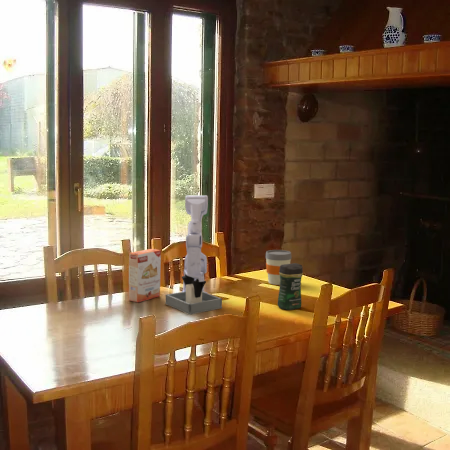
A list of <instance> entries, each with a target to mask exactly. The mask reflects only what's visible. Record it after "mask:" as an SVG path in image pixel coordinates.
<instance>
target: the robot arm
mask: <svg viewBox="0 0 450 450" xmlns="http://www.w3.org/2000/svg"><path fill="white" fill-rule="evenodd" d="M208 197H209V196H208V195H207V194H205V195H196V194H193V195H192V194H191V195H189V194H186V195H185V197H184V199H185V203H184V204H185V205H184V207H185V212H186V214H187V215H189V216H190V221H189V222H188V225H187V234H186V237H185V247H186V255H185V257H184V269H183V276H181V279H182V281H183V283H182V285H183V287H182V290H181V292H185V291H186V285H187V284H193V286H194V293H195V297H196V298H198V297H200V296H201V293H202V291H203V292H205V293H208V292H207V291H205V289H204V288H205V285H206V283H207V281H206V280H205V274H206V273H207V272H208V269H207V268H208V259H207V255H206V254H205V253H203V252H202V248H203V235H202V234H203V233H202V228H203V225H202V219H203V217H204V215H205V216H206V215H207V214H208V207H209V204H208V203H209V198H208Z"/></svg>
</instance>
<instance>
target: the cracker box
mask: <svg viewBox="0 0 450 450" xmlns="http://www.w3.org/2000/svg"><path fill="white" fill-rule="evenodd" d="M161 253H162V250H160V249H156V248H149V249H143V250H137V251H132V252H128V301H131V302H134V303H136V304H137V303H140V302H145V301H147V300H151V299H155V298H156V299H157V298H159V297H161V262H162V260H161V258H162V257H161V256H162V255H161Z"/></svg>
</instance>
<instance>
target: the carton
mask: <svg viewBox="0 0 450 450" xmlns="http://www.w3.org/2000/svg"><path fill="white" fill-rule="evenodd" d="M186 302H187V303H189V304H192V303H198V302H202V293H201V296H200V297H198V298H196V297H195V293H194V286H193V284H187V285H186Z"/></svg>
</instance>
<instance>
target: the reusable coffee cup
mask: <svg viewBox="0 0 450 450" xmlns="http://www.w3.org/2000/svg"><path fill="white" fill-rule="evenodd" d="M292 258H293V257H292V252H291V251H290V250H285V249H284V250H283V249H272V250H271V249H270V250H266V252H265V259H266V260H265V261H266V262H265V268H266V269H265V270H266V273H267V280H268V283H269V284H271V285H277V286H280V275H279V270H280V266H281V265H284V264H291V260H292Z"/></svg>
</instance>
